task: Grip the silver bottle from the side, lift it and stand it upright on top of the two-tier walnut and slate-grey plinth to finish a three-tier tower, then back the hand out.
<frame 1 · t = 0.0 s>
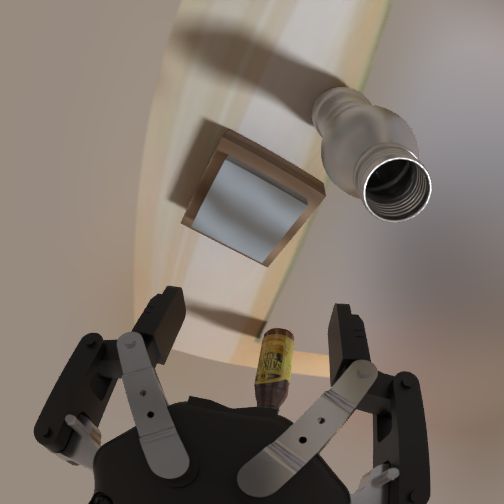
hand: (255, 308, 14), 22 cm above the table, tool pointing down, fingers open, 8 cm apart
plinth: (251, 195, 35), on the table
silver bottle: (339, 111, 27), on the table
sauce bottle: (278, 334, 54), on the table
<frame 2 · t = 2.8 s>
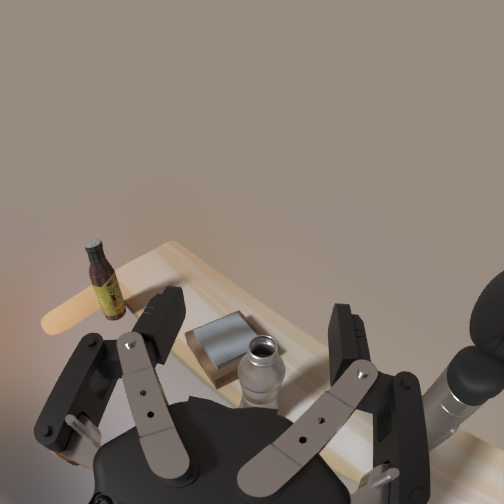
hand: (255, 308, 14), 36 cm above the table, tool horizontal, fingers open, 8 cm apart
plinth: (229, 352, 54), on the table
silver bottle: (258, 414, 42), on the table
sauce bottle: (116, 313, 62), on the table
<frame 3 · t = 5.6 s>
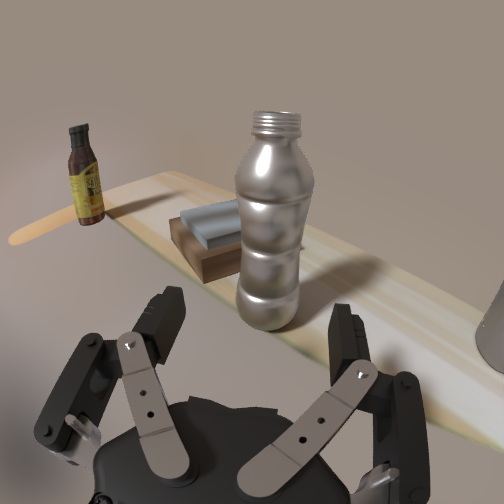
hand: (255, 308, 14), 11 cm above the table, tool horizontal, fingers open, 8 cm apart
plinth: (226, 246, 41), on the table
silver bottle: (266, 317, 29), on the table
sauce bottle: (93, 221, 50), on the table
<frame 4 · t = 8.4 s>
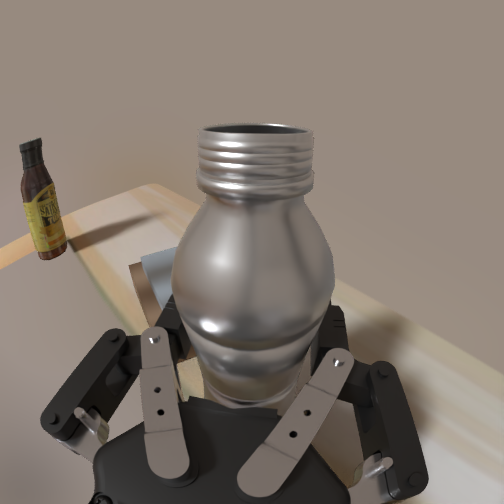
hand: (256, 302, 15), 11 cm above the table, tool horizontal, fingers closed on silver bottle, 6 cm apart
plinth: (202, 303, 31), on the table
silver bottle: (249, 425, 18), on the table, touching gripper
sauce bottle: (54, 253, 39), on the table
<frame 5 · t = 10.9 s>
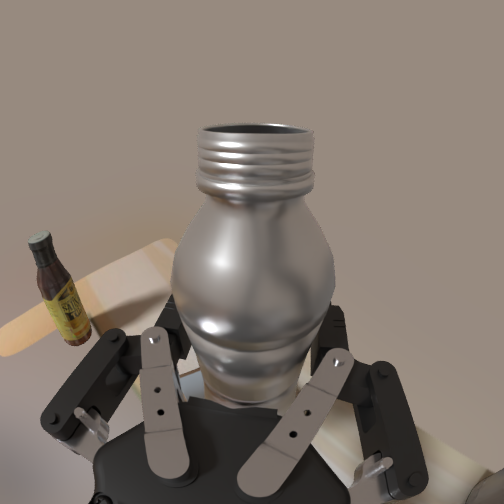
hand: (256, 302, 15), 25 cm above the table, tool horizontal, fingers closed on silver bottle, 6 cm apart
plinth: (233, 411, 32), on the table
silver bottle: (249, 426, 18), point 14 cm above the table, touching gripper
sauce bottle: (79, 335, 41), on the table
when the fingers open (17 cm above the table, at t = 13.7 s): silver bottle drops 1 cm, resting on plinth.
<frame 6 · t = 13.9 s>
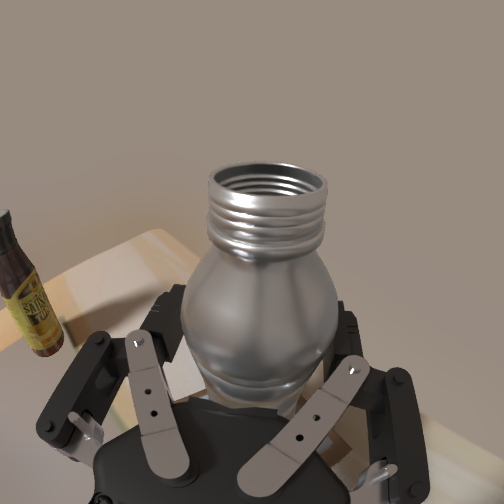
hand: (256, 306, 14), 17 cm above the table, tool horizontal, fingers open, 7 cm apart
plinth: (248, 448, 22), on the table
silver bottle: (249, 434, 19), point 5 cm above the table, touching plinth
sauce bottle: (50, 343, 30), on the table
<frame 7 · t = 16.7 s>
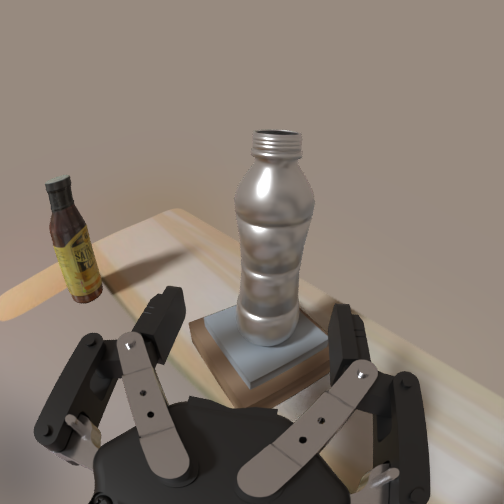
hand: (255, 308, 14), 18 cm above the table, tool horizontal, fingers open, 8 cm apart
plinth: (263, 356, 32), on the table
silver bottle: (266, 331, 29), point 5 cm above the table, touching plinth
sauce bottle: (89, 293, 41), on the table
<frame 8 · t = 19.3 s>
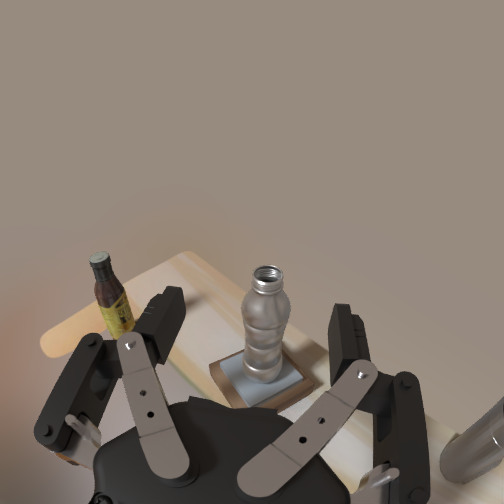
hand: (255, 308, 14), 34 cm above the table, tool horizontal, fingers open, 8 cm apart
plinth: (259, 385, 45), on the table
silver bottle: (261, 372, 43), point 5 cm above the table, touching plinth
sauce bottle: (125, 335, 54), on the table
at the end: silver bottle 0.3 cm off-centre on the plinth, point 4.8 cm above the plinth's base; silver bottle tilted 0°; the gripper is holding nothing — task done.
